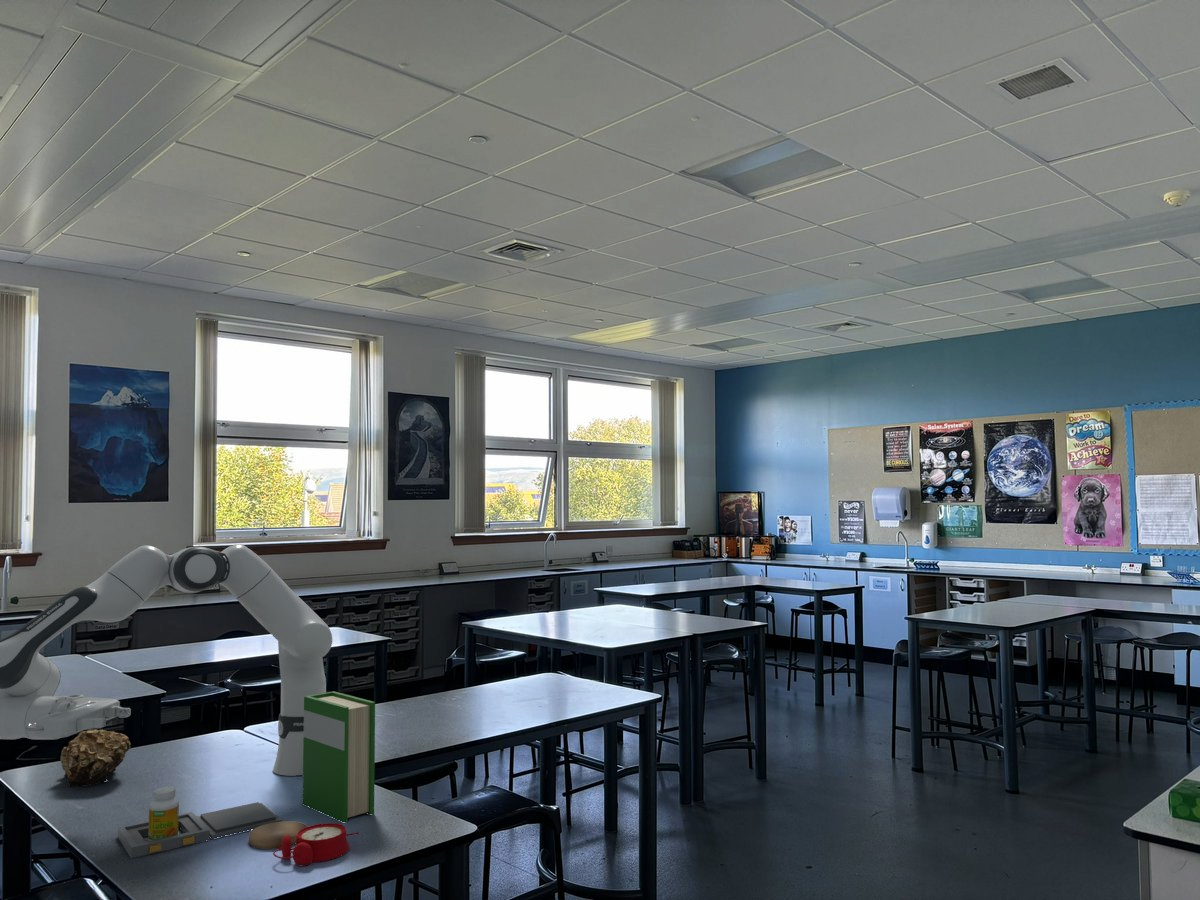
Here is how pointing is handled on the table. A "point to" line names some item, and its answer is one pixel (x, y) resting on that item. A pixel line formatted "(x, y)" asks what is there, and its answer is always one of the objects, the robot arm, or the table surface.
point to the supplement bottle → (163, 814)
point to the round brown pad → (274, 834)
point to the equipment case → (197, 828)
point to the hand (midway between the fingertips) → (116, 717)
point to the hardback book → (339, 754)
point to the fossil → (93, 756)
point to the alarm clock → (316, 844)
